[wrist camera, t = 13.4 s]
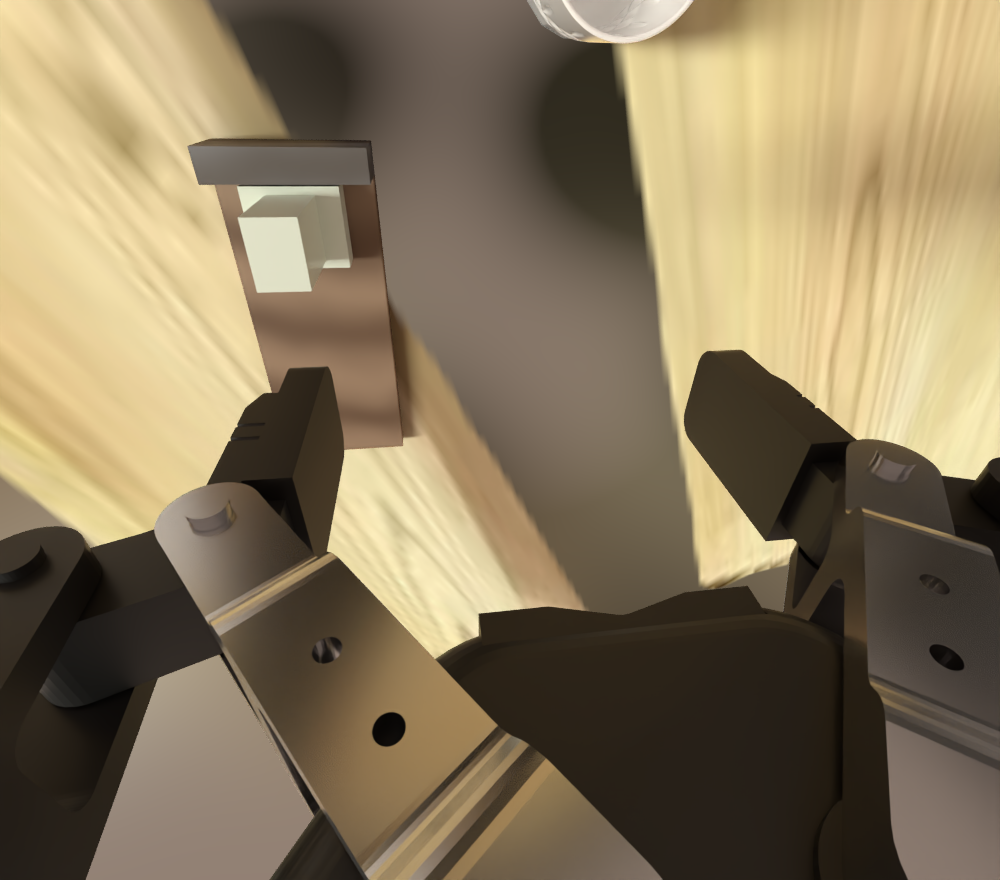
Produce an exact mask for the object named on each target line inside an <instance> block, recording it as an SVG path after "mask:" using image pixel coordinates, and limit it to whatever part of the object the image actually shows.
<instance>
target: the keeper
mask: <svg viewBox="0 0 1000 880" xmlns="http://www.w3.org/2000/svg"><path fill="white" fill-rule="evenodd" d="M237 189H238V193H239V197H240V201H241V205H242V209H243V214H241V215H240V216H239V217H238V221H239V225H240V229H241V233H242V237H243V240H244V244H245V248H246V252H247V256H248V260H249V263H250V267H251V271H252V275H253V279H254V283H255V286H256V290H257V293H265V292H306V291H312V290H313V288H314V286H315V284H316V281H317V279H318V277H319V275H320V273H321V271H322V269H323V268H350V267H351V264H352V261H353V254H352V247H351V240H350V233H349V226H348V219H347V212H346V205H345V198H344V191H343V185H238V186H237Z"/></svg>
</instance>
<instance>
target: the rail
mask: <svg viewBox="0 0 1000 880" xmlns="http://www.w3.org/2000/svg"><path fill="white" fill-rule="evenodd" d="M188 150H189V153H190V156H191V160H192V163H193V167H194V170H195V174H196V177H197V180H198V184H199V185H215V188H216V191H217V195H218V199H219V202H220V206H221V209H222V213H223V217H224V220H225V224H226V227H227V231H228V235H229V238H230V242H231V246H232V249H233V253H234V256H235V260H236V264H237V267H238V271H239V275H240V278H241V282H242V285H243V289H244V293H245V296H246V300H247V304H248V307H249V311H250V314H251V318H252V322H253V325H254V329H255V333H256V336H257V340H258V343H259V347H260V351H261V354H262V358H263V362H264V365H265V369H266V372H267V376H268V380H269V383H270V387H271V390H272V393H278V392H279V390H280V387H281V385H282V383H283V380H284V378H285V376H286V373H287V371H288V369H289V368H300V367H324V366H328V367H329V369H330V371H331V374H332V378H333V383H334V388H335V394H336V399H337V404H338V409H339V414H340V420H341V425H342V430H343V438H344V450H347V449H363V448H379V447H395V446H403V431H402V422H401V413H400V404H399V395H398V385H397V376H396V367H395V358H394V349H393V339H392V330H391V321H390V312H389V303H388V294H387V284H386V275H385V267H384V257H383V248H382V239H381V229H380V221H379V211H378V202H377V194H376V185H375V175H374V165H373V157H372V147H371V141H365V140H364V141H361V140H274V139H208V140H205V141H202V142H199V143H195V144H192V145H189V146H188ZM238 185H343V191H344V198H345V205H346V212H347V219H348V226H349V233H350V240H351V247H352V254H353V261H352V264H351V267H350V268H323V269H322V271H321V273H320V275H319V277H318V279H317V281H316V284H315V286H314V288H313V290H312V291H306V292H265V293H257V290H256V286H255V283H254V279H253V275H252V271H251V267H250V263H249V260H248V256H247V252H246V248H245V244H244V240H243V237H242V233H241V229H240V225H239V221H238V217H239V216H240V215H241V214H243V209H242V205H241V201H240V197H239V193H238V189H237V186H238Z"/></svg>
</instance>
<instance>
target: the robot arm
mask: <svg viewBox="0 0 1000 880" xmlns="http://www.w3.org/2000/svg"><path fill="white" fill-rule="evenodd" d="M237 425H238V427H236V428H235V430H234V432H233V434H232V436H231V441H229V442H228V444H227V446H226V448H225V450H224V452H223V454H222V456H221V458H220V460H219V462H218V464H217V466H216V468H215V470H214V472H213V474H212V476H211V477H210V479H209V481H208V483H207V485H206V486H203V487H200V488H197V489H195V490H192V491H190V492H188V493H186V494H184V495H182V496H181V497H179V498H177V499H176V500H174V501H173V502H172V503H170V504H169V505H168V506H167V507H166V508H165V509H164V510H163V511H162V513H161V514H160V515H159V517H158V519H157V521H156V523H155V527H154V530H151V531H148V532H145V533H142V534H139V535H135V536H132V537H128V538H125V539H121V540H117V541H114V542H110V543H107V544H103V545H100V546H96V547H93V548H90V547H89V545H88V544H87V542H86V541H85V539H84V538H83V536H82V535H81V534H80V533H79V532H78V531H76V530H74V529H72V528H67V527H58V526H54V527H43V528H37V529H33V530H29V531H25V532H22V533H19V534H16V535H13V536H11V537H8V538H6V539H3V540H1V541H0V880H86V877H87V874H88V872H89V869H90V866H91V863H92V860H93V858H94V855H95V852H96V849H97V846H98V843H99V841H100V838H101V835H102V833H103V830H104V827H105V824H106V821H107V818H108V816H109V813H110V810H111V807H112V804H113V802H114V799H115V796H116V793H117V791H118V788H119V785H120V782H121V779H122V777H123V774H124V771H125V768H126V766H127V763H128V760H129V757H130V754H131V751H132V749H133V746H134V743H135V740H136V737H137V735H138V732H139V729H140V726H141V723H142V721H143V717H144V715H145V712H146V710H147V707H148V704H149V701H150V698H151V696H152V693H153V690H154V687H155V684H156V682H157V679H158V678H159V677H161V676H164V675H166V674H169V673H172V672H174V671H177V670H180V669H182V668H185V667H187V666H190V665H193V664H195V663H198V662H200V661H203V660H206V659H208V658H211V657H214V656H216V655H219V657H220V658H221V660H222V662H223V663H224V665H225V667H226V668H227V670H228V672H229V673H230V675H231V677H232V678H233V680H234V682H235V683H236V685H237V687H238V689H239V690H240V692H241V694H242V695H243V697H244V699H245V700H246V702H247V704H248V706H249V707H250V709H251V710H252V712H253V714H254V716H255V717H256V719H257V721H258V722H259V724H260V726H261V727H262V729H263V731H264V733H265V734H266V736H267V737H268V739H269V741H270V743H271V745H272V746H273V748H274V750H275V752H276V753H277V755H278V757H279V759H280V761H281V762H282V764H283V766H284V768H285V770H286V771H287V773H288V775H289V777H290V778H291V780H292V782H293V784H294V785H295V787H296V788H297V790H298V792H299V794H300V795H301V797H302V799H303V801H304V802H305V804H306V806H307V807H308V809H309V811H310V812H311V814H312V816H313V817H314V818H313V819H312V821H311V822H310V823H309V825H308V826H307V828H306V829H305V830H304V832H303V833H302V835H301V836H300V838H299V839H298V841H297V842H296V843H295V845H294V846H293V848H292V849H291V850H290V852H289V853H288V855H287V856H286V857H285V859H284V860H283V862H282V863H281V864H280V866H279V867H278V869H277V870H276V872H275V873H274V874H273V876H272V877H271V879H270V880H1000V457H999V458H995V459H992V460H991V461H990V462H989V463H988V464H987V466H986V467H985V468H984V470H983V471H982V472H981V474H980V475H979V476H978V478H977V479H976V480H970V479H962V478H955V477H948V476H941V473H940V471H939V470H938V469H937V467H936V466H935V465H934V464H933V463H931V462H930V461H929V460H928V459H926V458H925V457H923V456H922V455H920V454H918V453H916V452H914V451H912V450H910V449H908V448H905V447H903V446H900V445H897V444H894V443H890V442H886V441H881V440H873V439H862V440H856V439H855V438H854V437H853V436H851V435H850V434H849V433H848V432H847V431H845V430H844V429H843V428H842V427H841V426H839V425H838V424H837V423H836V422H835V421H833V420H832V419H831V418H830V417H829V416H827V415H826V414H825V413H824V412H822V411H821V410H820V409H819V408H815V405H814V404H813V403H812V402H810V401H809V400H808V399H807V398H806V397H802V394H801V393H800V392H798V391H797V390H796V389H795V388H794V387H792V386H791V385H790V384H789V383H788V382H786V381H784V380H782V379H780V378H778V377H776V376H774V375H772V374H771V373H769V372H768V371H767V370H766V369H765V368H763V367H762V366H761V365H760V364H759V363H757V362H756V361H755V360H754V359H753V358H752V357H750V356H749V355H748V354H747V353H746V352H744V351H742V350H725V351H707V352H705V353H704V354H703V355H702V356H701V358H700V360H699V363H698V366H697V370H696V373H695V377H694V381H693V384H692V388H691V391H690V395H689V399H688V402H687V406H686V409H685V414H684V426H685V431H686V434H687V436H688V438H689V440H690V441H691V442H692V444H693V445H694V446H695V448H696V449H697V450H698V452H699V453H700V454H701V456H702V457H703V458H704V460H705V461H706V462H707V464H708V465H709V466H710V468H711V469H712V470H713V472H714V473H715V474H716V476H717V477H718V478H719V480H720V481H721V482H722V484H723V485H724V486H725V488H726V489H727V490H728V492H729V493H730V494H731V496H732V497H733V498H734V500H735V501H736V502H737V504H738V505H739V506H740V508H741V509H742V510H743V512H744V513H745V514H746V516H747V517H748V518H749V520H750V521H751V522H752V524H753V525H754V526H755V528H756V529H757V530H758V532H759V533H760V534H761V536H762V537H763V538H764V540H765V541H773V540H784V539H794V540H795V541H796V542H797V543H796V545H795V547H794V549H793V551H792V553H791V556H790V561H789V570H788V577H787V585H786V593H785V601H784V609H783V612H780V611H775V610H771V609H766V608H762V607H761V606H760V604H759V603H758V602H757V600H756V598H755V597H754V595H753V593H752V592H751V590H750V589H749V587H748V586H743V587H733V588H723V589H714V590H704V591H694V592H685V593H682V594H680V595H677V596H674V597H672V598H669V599H667V600H664V601H662V602H659V603H656V604H654V605H651V606H648V607H646V608H643V609H640V610H638V611H635V612H633V613H630V614H626V615H614V614H606V613H597V612H589V611H581V610H572V609H564V608H556V607H539V608H530V609H520V610H510V611H501V612H491V613H481V614H479V636H478V637H475V638H473V639H470V640H468V641H465V642H463V643H462V644H460V645H458V646H456V647H454V648H452V649H450V650H448V651H447V652H445V653H444V654H442V655H441V656H439V657H438V658H436V659H434V658H433V657H432V656H431V655H430V654H429V652H428V651H427V650H426V649H425V648H424V647H423V646H422V645H421V644H420V643H419V642H418V641H417V640H416V639H415V638H414V637H413V636H412V635H411V634H410V632H409V631H408V630H407V629H406V628H405V627H404V626H403V625H402V624H401V623H400V622H399V621H398V620H397V619H396V618H395V617H394V616H393V615H392V613H391V612H390V611H389V610H388V609H387V608H386V607H385V606H384V605H383V604H382V603H381V602H380V601H379V600H378V599H377V598H376V597H375V596H374V595H373V593H372V592H371V591H370V590H369V589H368V588H367V587H366V586H365V585H364V584H363V583H362V582H361V581H360V580H359V579H358V578H357V577H356V576H355V575H354V573H353V572H352V571H351V570H350V569H349V568H348V567H347V566H346V565H345V564H344V563H343V562H342V561H341V560H340V559H339V558H338V557H337V556H336V555H334V554H333V553H331V552H327V547H328V541H329V536H330V531H331V525H332V520H333V514H334V509H335V503H336V498H337V492H338V487H339V481H340V476H341V470H342V465H343V459H344V438H343V430H342V425H341V420H340V414H339V409H338V404H337V399H336V394H335V388H334V383H333V378H332V374H331V371H330V369H329V367H328V366H324V367H300V368H289V369H288V371H287V373H286V376H285V378H284V380H283V383H282V385H281V387H280V390H279V392H278V393H264V394H262V395H261V396H260V397H259V398H257V399H256V400H255V401H254V402H252V403H251V404H250V405H249V406H247V407H246V408H245V410H244V412H243V414H242V416H241V418H240V420H239V422H238V424H237Z"/></svg>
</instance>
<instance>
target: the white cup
mask: <svg viewBox="0 0 1000 880" xmlns="http://www.w3.org/2000/svg"><path fill="white" fill-rule="evenodd" d="M527 1H528V3H529V5H530V6H531V8H532V10H533V11H534V13H535V15H536V16H537V18H538V20H539V21H540V23H541V24H542V25H543V26H545V27H546V28H548V29H549V30H551V31H552V32H554V33H556V34H557V35H559V36H561V37H562V38H571V39H574V40H578V41H586V42H599V43H634V42H639V41H642V40H646V39H648V38H651V37H653V36H655V35H657V34H659V33H660V32H662V31H664V30H665V29H666V28H668V27H669V26H670V25H672V24H673V23H674V22H675V21H676V20H677V19H678V18H679V17H680V16H681V15H682V14H683V13H684V12H685V11H686V10H687V9H688V8H689V6H690V5H691V4H692V2H693V1H694V0H527Z"/></svg>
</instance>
